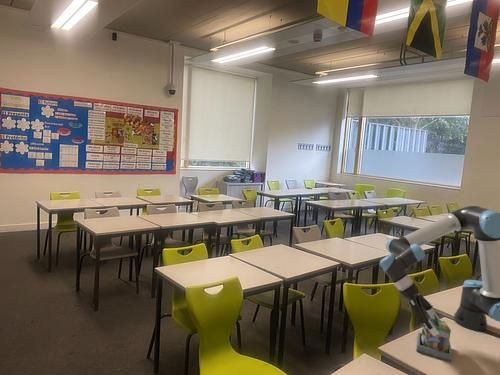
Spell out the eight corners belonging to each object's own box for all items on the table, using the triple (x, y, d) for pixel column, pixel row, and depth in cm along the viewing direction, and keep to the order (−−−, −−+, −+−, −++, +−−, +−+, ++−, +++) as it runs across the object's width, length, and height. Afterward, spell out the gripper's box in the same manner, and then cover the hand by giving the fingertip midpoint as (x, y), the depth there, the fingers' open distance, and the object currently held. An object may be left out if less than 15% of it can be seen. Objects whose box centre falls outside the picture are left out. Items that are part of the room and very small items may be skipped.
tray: (448, 347, 167) (449, 341, 167) (450, 361, 155) (451, 355, 155) (417, 338, 173) (418, 332, 172) (416, 351, 161) (417, 345, 160)
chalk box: (447, 355, 158) (453, 323, 156) (424, 351, 160) (429, 319, 158) (441, 344, 167) (446, 313, 165) (419, 340, 169) (424, 310, 167)
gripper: (403, 282, 180) (432, 321, 175) (394, 299, 159) (427, 344, 153) (416, 275, 177) (446, 314, 171) (409, 291, 155) (443, 336, 150)
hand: (437, 328), depth 162 cm, fingers open, 13 cm apart
